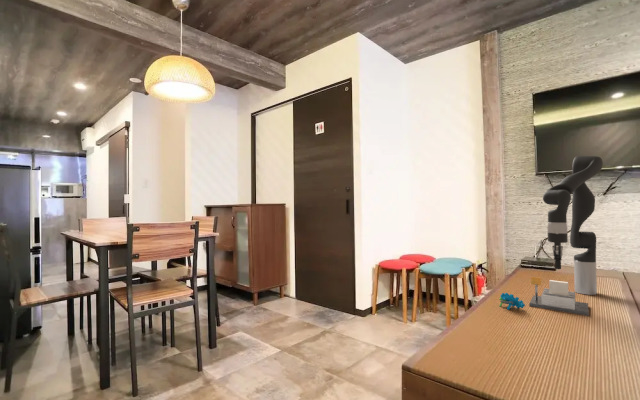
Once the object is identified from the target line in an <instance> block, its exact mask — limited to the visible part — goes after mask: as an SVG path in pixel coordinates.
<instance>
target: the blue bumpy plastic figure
mask: <svg viewBox="0 0 640 400" xmlns="http://www.w3.org/2000/svg"><path fill="white" fill-rule="evenodd" d="M498 299H499V301H500V304H499V305H498V306H499V307H500V308H501V307H502V305H503V304H505V305H508V306H507V308H506V310H508V311H509V310H510V309H511V307H513V308H514V307H516V308H517V309H520V308H521V309H524V307H525V306H526V305H525V302H524V301H523V300H521V299H520V298H519V297H518V296H514V294H512V293H510V294H509V293H508V292H505V293H504V292H502V293H501V294H500V297H499V298H498Z"/></svg>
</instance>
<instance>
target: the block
mask: <svg viewBox="0 0 640 400" xmlns="http://www.w3.org/2000/svg"><path fill="white" fill-rule="evenodd" d="M548 283H549V285H548V286H549V288H548V289H549V293H553V294H560V295H567V296H568V291H569V282H568V281H561V280H560V281H559V280H552V279H549V281H548Z"/></svg>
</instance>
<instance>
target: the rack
mask: <svg viewBox="0 0 640 400" xmlns="http://www.w3.org/2000/svg"><path fill="white" fill-rule="evenodd" d="M530 279H531V280H530V284H531V285H534V295H532V298H531V300H530V301H529V303H528V304H529V307H531V308H538V309H545V310H550V311H556V312H563V313H568V314H573V315H580V316H584V317H585V316H587V317H589V315H590V314H589V313H590V311H589V310H590V309H589V302H588V303H587V302H582V301H576V292H575V291H570V290H568V296H567V295H560V294H553V293H549V288H546V287H544V288H543V291H542V292H541V295H539V292H538V286H542V277H538V276H531V277H530Z"/></svg>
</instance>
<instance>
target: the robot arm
mask: <svg viewBox="0 0 640 400" xmlns="http://www.w3.org/2000/svg"><path fill="white" fill-rule="evenodd" d="M603 164H604V163H603V159H602V158H601V157H600V156H595V155H576V156H575V157H574V158H573V161H572V164H571V165H572V168H571V170H572V174H569V175H567V176H565V177H564V178H562V180H561V181H560V182H559V183H557V185H553V186H552V187H550V188H549V189H547V190H546V191H545V192H544V193H543V196H542V201H543V202H544V203H545V204H546V205H548V206H549V205H550V206H553V205H554V206H557V207H556V208H555V209H551V210H549V211H548V213H547V242H549V243H553V245H552V247H551V248H552V249H551V250H552V255H553V260H554V269H556V270H561V269H562V257H563V255H564V254H563V250H564V246H562V243H563V244H564V243H565V244H566V243H568V242H569V243H570V246H571V248H574V249H587V250H585V251H584V252H582V253H576V254H574V255H573V272H574V276H573V277H574V280H573V281H574V284H573V285H574V292H575V293H577V294H583V295H589V296H596V295H597V293H598V292H597V290H598V289H597V286H598V285H597V283H598V282H597V235H596V234H595V233H594V232H593V231H580V229H581V228H582V225H583V224H584V222H586V220H587V219H589V218H590V217H591V216H592V215H593V213H594V211H595V210H596V209H595V208H596V206H595V205H596V197H595V195H594V193H593V191H592V190H591V189H590V188H589V186H588V184H586V182H587V181H588V180H590V179H592V178H594V176H596V175H597V174H599V173H600V172H601V170H602V168H603ZM571 195H572V196H571ZM571 200H572V201H571ZM571 202H572V203H571ZM570 203H571V210H572V212H571V215H572V216H571V227H570V233H569V234H570V235H569V238H568V224H567V213H568V210H569V207H570ZM568 239H569V240H568Z"/></svg>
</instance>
